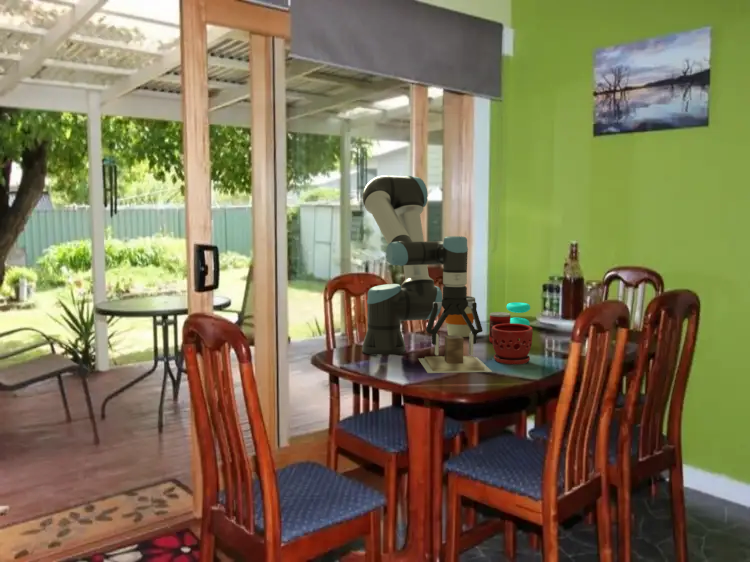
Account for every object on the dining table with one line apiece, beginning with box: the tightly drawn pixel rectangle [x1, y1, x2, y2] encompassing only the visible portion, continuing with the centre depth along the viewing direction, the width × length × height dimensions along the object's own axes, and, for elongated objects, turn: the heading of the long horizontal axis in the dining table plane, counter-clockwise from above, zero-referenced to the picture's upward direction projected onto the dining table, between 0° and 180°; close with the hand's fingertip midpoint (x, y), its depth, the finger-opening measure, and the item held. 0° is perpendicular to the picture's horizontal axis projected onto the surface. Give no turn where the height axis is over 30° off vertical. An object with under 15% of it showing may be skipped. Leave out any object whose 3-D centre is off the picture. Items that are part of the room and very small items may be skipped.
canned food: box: [488, 311, 511, 344], centre depth 255 cm, size 8×8×11 cm
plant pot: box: [491, 323, 534, 365], centre depth 222 cm, size 13×13×12 cm
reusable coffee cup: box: [444, 295, 476, 338], centre depth 269 cm, size 13×13×15 cm
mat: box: [417, 356, 493, 374], centre depth 217 cm, size 20×20×1 cm
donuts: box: [506, 302, 531, 326], centre depth 289 cm, size 10×10×10 cm
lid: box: [424, 335, 484, 371], centre depth 216 cm, size 16×16×9 cm
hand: (453, 354), depth 216 cm, fingers open, 10 cm apart
